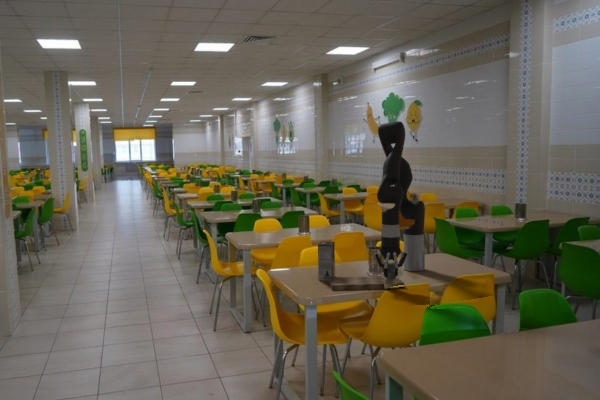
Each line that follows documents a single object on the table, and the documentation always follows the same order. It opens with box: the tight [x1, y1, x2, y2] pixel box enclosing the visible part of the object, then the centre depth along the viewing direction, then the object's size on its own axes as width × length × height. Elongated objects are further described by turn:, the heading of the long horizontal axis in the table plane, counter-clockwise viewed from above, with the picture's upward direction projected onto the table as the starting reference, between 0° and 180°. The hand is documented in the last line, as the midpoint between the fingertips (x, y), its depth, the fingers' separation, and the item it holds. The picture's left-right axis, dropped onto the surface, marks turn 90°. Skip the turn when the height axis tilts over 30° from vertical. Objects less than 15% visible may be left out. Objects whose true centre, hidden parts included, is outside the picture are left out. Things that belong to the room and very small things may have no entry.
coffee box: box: [317, 241, 336, 282], centre depth 235 cm, size 9×6×16 cm
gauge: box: [381, 262, 397, 290], centre depth 219 cm, size 5×13×10 cm, turn 3°
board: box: [327, 275, 405, 291], centre depth 222 cm, size 30×14×2 cm, turn 93°
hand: (390, 276), depth 214 cm, fingers closed on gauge, 3 cm apart
